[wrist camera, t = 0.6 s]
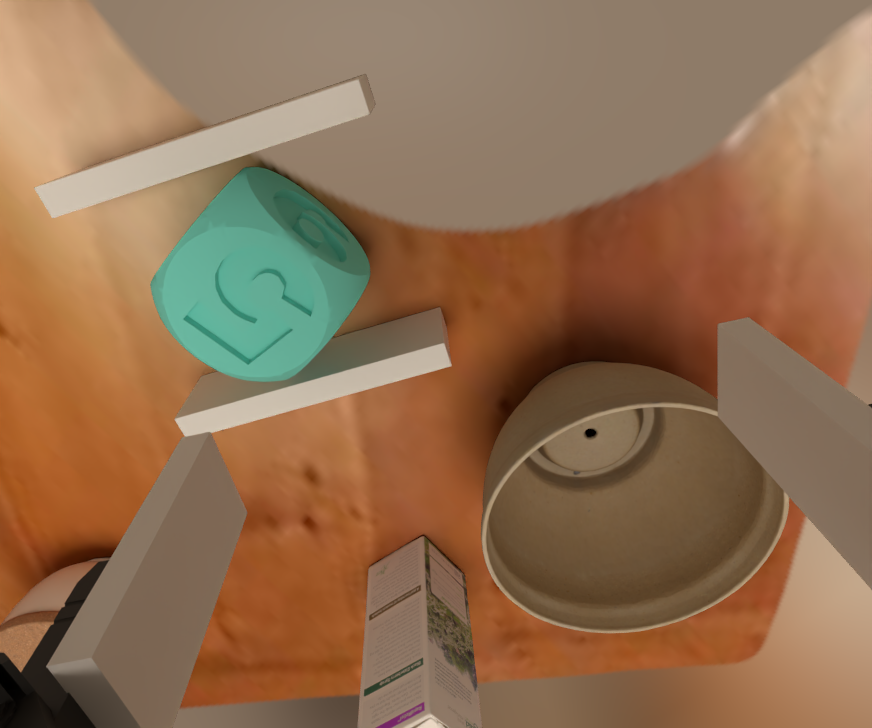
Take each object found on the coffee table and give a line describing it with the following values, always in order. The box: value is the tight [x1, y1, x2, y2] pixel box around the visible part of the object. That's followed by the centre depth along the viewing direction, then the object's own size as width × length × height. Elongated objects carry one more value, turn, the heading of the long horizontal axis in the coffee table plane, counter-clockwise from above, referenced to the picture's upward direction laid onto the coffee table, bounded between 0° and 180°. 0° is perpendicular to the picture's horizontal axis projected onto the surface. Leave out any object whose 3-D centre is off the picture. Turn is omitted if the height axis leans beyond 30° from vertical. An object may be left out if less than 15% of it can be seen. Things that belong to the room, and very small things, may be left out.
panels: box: [34, 74, 452, 437], centre depth 33 cm, size 16×15×5 cm
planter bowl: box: [481, 361, 789, 633], centre depth 37 cm, size 16×16×11 cm
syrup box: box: [358, 536, 482, 728], centre depth 41 cm, size 6×6×14 cm
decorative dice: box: [150, 167, 370, 382], centre depth 32 cm, size 8×8×8 cm
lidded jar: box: [0, 558, 110, 672], centre depth 43 cm, size 11×11×9 cm
